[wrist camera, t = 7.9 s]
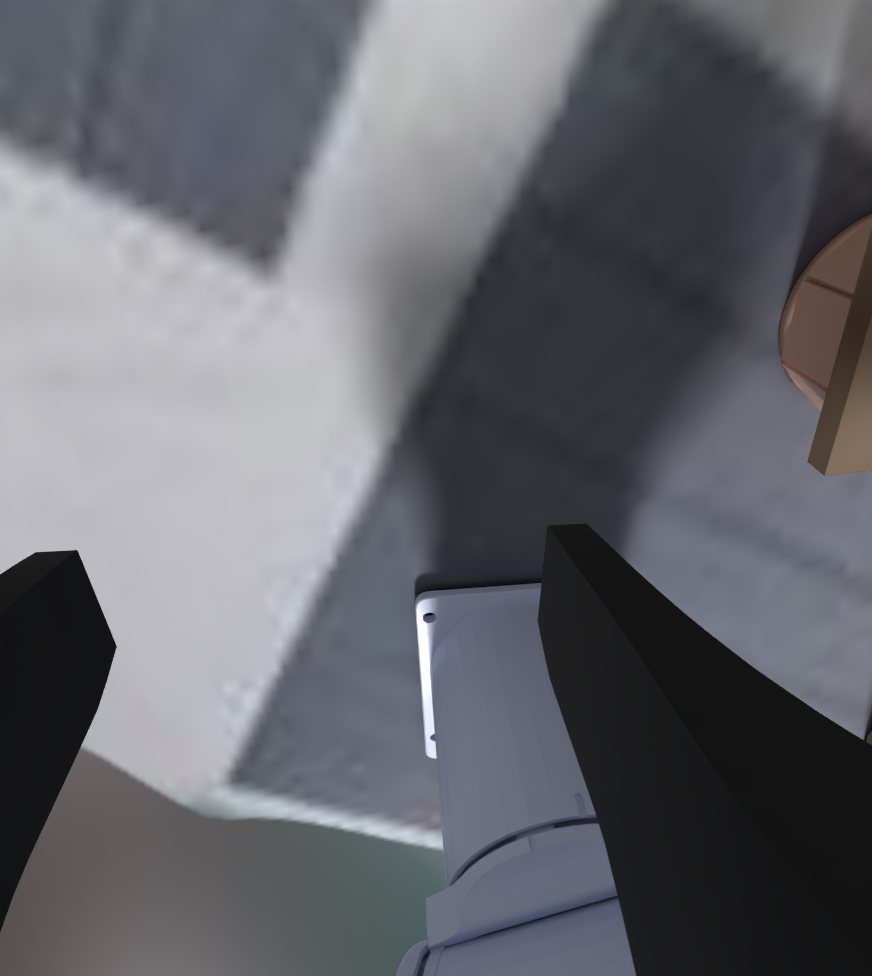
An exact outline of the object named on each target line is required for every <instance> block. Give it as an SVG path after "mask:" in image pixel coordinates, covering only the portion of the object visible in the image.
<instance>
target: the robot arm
mask: <svg viewBox="0 0 872 976" xmlns="http://www.w3.org/2000/svg"><path fill="white" fill-rule="evenodd" d="M415 610H416V624H417V638H418V652H419V667H420V681H421V695H422V709H423V723H424V737H425V751H426V754H427V755H428V756H429V757H431V758H437V770H438V783H439V796H440V809H441V822H442V835H443V848H444V860H445V874H446V887H447V889H445V890H443V891H441V892H439V893H436V894H434V895H431V896H429V897H427V898H426V913H427V914H426V915H427V935H428V940H425V941H421V942H419V943H418V944H416V945H414V946H413V947H412V948H410V950H409V951H408V952H407V953H406V955H405V956H404V958H403V960H402V962H401V964H400V967H399V969H398V971H397V975H396V976H872V745H871V744H869V743H867V742H865V741H864V740H862V739H860V738H859V737H857V736H855V735H854V734H852V733H850V732H849V731H847V730H846V729H844V728H842V727H841V726H839V725H838V724H836V723H835V722H833V721H831V720H830V719H828V718H827V717H825V716H823V715H822V714H820V713H819V712H817V711H816V710H814V709H813V708H811V707H810V706H808V705H807V704H805V703H804V702H803V701H801V700H800V699H798V698H797V697H795V696H794V695H792V694H791V693H789V692H788V691H786V690H785V689H783V688H782V687H781V686H779V685H778V684H776V683H775V682H773V681H772V680H770V679H769V678H767V677H766V676H765V675H763V674H762V673H760V672H759V671H758V670H756V669H755V668H754V667H752V666H751V665H749V664H748V663H747V662H745V661H744V660H743V659H741V658H740V657H739V656H737V655H736V654H735V653H734V652H732V651H731V650H730V649H729V648H727V647H726V646H725V645H723V644H722V643H721V642H720V641H718V640H717V639H716V638H714V637H713V636H712V635H711V634H709V633H708V632H707V631H705V630H704V629H703V628H702V627H701V626H699V625H698V624H697V623H696V622H695V621H693V620H692V619H691V618H690V617H688V616H687V615H686V614H685V613H684V612H682V611H681V610H680V609H679V608H678V607H677V606H675V605H674V604H673V603H672V602H671V601H670V600H669V599H667V598H666V597H665V596H664V595H663V594H662V593H661V592H659V591H658V590H657V589H656V588H655V587H654V586H653V585H652V584H650V583H649V582H648V581H647V580H646V579H645V578H644V577H643V576H642V575H640V574H639V573H638V572H637V571H636V570H635V569H634V568H633V567H632V566H631V565H630V564H629V563H627V562H626V561H625V560H624V559H623V558H622V557H621V556H620V555H619V554H618V553H617V552H616V551H615V550H614V549H613V548H611V547H610V546H609V545H608V544H607V543H606V542H605V541H604V540H603V539H602V538H601V537H600V536H599V535H598V534H597V533H595V532H594V531H593V530H592V529H591V528H590V527H589V526H588V525H587V524H572V525H552V526H548V528H547V537H546V547H545V556H544V565H543V574H542V583H535V584H521V585H507V586H493V587H479V588H466V589H452V590H438V591H427V592H423V593H421V594H419V595H418V596H417V598H416V600H415ZM426 613H434V614H433V615H430V616H427V615H424V614H426ZM116 647H117V646H116V644H115V641H114V639H113V636H112V634H111V631H110V629H109V627H108V624H107V622H106V619H105V617H104V614H103V612H102V609H101V607H100V605H99V602H98V600H97V597H96V595H95V592H94V590H93V587H92V585H91V582H90V580H89V578H88V575H87V573H86V570H85V568H84V565H83V563H82V560H81V558H80V556H79V553H78V551H77V550H73V551H54V552H36V553H34V554H32V555H31V556H29V557H27V558H26V559H24V560H22V561H20V562H19V563H17V564H16V565H14V566H13V567H11V568H9V569H8V570H6V571H5V572H3V573H2V574H0V931H1V928H2V926H3V923H4V920H5V917H6V914H7V912H8V909H9V906H10V903H11V900H12V898H13V895H14V892H15V890H16V888H17V885H18V883H19V880H20V878H21V876H22V873H23V871H24V868H25V866H26V864H27V861H28V859H29V857H30V854H31V853H32V850H33V848H34V846H35V844H36V842H37V840H38V837H39V835H40V833H41V831H42V829H43V827H44V824H45V822H46V820H47V818H48V816H49V814H50V812H51V810H52V807H53V805H54V803H55V801H56V799H57V796H58V795H59V792H60V790H61V788H62V786H63V784H64V782H65V779H66V777H67V775H68V773H69V771H70V769H71V767H72V765H73V762H74V760H75V758H76V756H77V754H78V751H79V749H80V747H81V745H82V743H83V740H84V738H85V736H86V734H87V732H88V729H89V727H90V725H91V723H92V721H93V718H94V716H95V714H96V711H97V709H98V706H99V703H100V700H101V697H102V694H103V691H104V688H105V685H106V682H107V678H108V675H109V671H110V668H111V664H112V661H113V657H114V654H115V650H116Z"/></svg>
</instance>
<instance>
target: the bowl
mask: <svg viewBox="0 0 872 976" xmlns="http://www.w3.org/2000/svg"><path fill="white" fill-rule="evenodd" d="M871 228H872V213H871V214H869V215H867V216H865V217H864V218H862V219H860V220H858V221H856V222H855V223H853V224H852V225H850V226H849V227H847V228H846V229H844V230H843V231H842V232H840V233H839V234H838V235H837V236H835V237H834V238H833V239H832V240H831V241H830V242H829V243H828V244H826V245H825V246H824V247H823V248H822V249H821V250H820V251H819V252H818V254H817V255H816V256H815V257H814V258H813V259H812V261H811V262H810V263H809V264H808V266H807V267H806V268H805V270H804V271H803V273H802V274H801V275H800V277H799V279H798V280H797V282H796V284H795V285H794V287H793V289H792V291H791V293H790V295H789V298H788V300H787V302H786V305H785V308H784V311H783V314H782V318H781V323H780V328H779V341H778V342H779V354H780V358H781V362H782V365H783V368H784V370H785V372H786V374H787V376H788V377H789V379H790V380H791V382H792V383H793V384H794V385H795V386H796V387H797V388H798V389H799V390H801V391H802V392H804V393H805V394H806V395H807V396H808V398H809V399H810V400H811V401H812V403H813V404H814V405H815V406H816V408H817V409H818V410H819V411H820V412H821V411H822V407H823V403H824V400H825V396H826V392H827V389H828V385H829V381H830V378H831V374H832V371H833V367H834V363H835V360H836V356H837V352H838V349H839V345H840V341H841V338H842V334H843V330H844V327H845V323H846V320H847V316H848V312H849V309H850V305H851V301H852V298H853V294H854V290H855V287H856V283H857V279H858V276H859V272H860V269H861V265H862V261H863V258H864V254H865V250H866V247H867V243H868V239H869V236H870V232H871Z"/></svg>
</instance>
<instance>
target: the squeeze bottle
mask: <svg viewBox="0 0 872 976" xmlns="http://www.w3.org/2000/svg"><path fill="white" fill-rule="evenodd" d="M866 742H867V743H869V744H871V745H872V731H871V732H870V733H869V734H868V736H867V740H866Z"/></svg>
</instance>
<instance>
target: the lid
mask: <svg viewBox="0 0 872 976" xmlns="http://www.w3.org/2000/svg"><path fill="white" fill-rule="evenodd" d="M808 463H810V464H811V465H812V466H813V467H814V468H816V469H817V470H818V471H819V472H820V473H822V474H823V475H824V476H828V475H838V474H847V473H857V472H866V471H872V228H871V232H870V236H869V239H868V243H867V247H866V250H865V254H864V258H863V261H862V265H861V269H860V272H859V276H858V279H857V283H856V287H855V290H854V294H853V298H852V301H851V305H850V309H849V312H848V316H847V320H846V323H845V327H844V330H843V334H842V338H841V341H840V345H839V349H838V352H837V356H836V360H835V363H834V367H833V371H832V374H831V378H830V381H829V385H828V389H827V392H826V396H825V400H824V403H823V407H822V411H821V414H820V418H819V422H818V425H817V429H816V433H815V436H814V440H813V443H812V447H811V451H810V454H809V458H808Z"/></svg>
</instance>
